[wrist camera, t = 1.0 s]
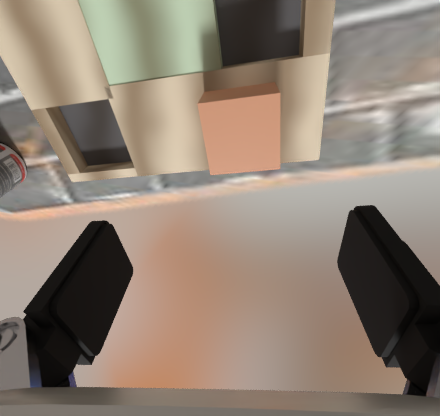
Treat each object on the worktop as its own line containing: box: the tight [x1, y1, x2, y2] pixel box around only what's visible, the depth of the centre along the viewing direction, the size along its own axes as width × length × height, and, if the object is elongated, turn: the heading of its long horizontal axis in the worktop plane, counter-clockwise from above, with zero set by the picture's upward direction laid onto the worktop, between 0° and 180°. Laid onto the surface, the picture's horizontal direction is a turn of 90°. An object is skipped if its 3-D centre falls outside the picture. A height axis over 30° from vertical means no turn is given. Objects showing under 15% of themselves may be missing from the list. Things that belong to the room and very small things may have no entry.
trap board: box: [0, 0, 335, 182], centre depth 22 cm, size 27×17×2 cm, turn 98°
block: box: [197, 82, 280, 175], centre depth 21 cm, size 6×6×4 cm
